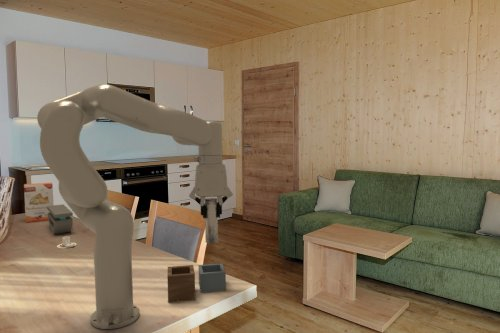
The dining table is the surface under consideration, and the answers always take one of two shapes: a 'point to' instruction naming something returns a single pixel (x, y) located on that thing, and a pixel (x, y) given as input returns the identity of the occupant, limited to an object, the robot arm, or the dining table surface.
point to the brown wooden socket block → (181, 283)
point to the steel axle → (211, 220)
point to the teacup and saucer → (66, 243)
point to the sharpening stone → (59, 219)
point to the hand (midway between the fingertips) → (211, 216)
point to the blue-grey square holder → (212, 277)
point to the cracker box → (37, 201)
